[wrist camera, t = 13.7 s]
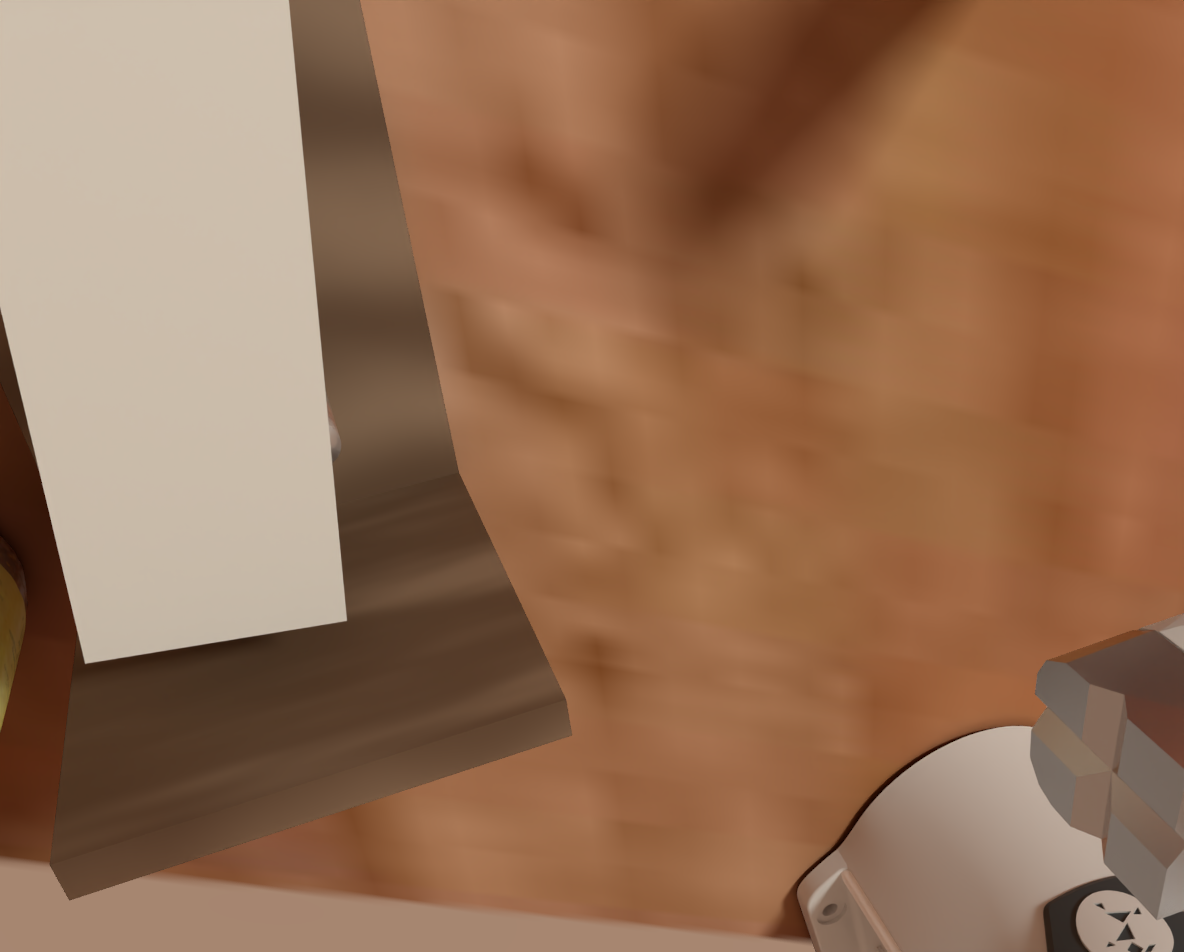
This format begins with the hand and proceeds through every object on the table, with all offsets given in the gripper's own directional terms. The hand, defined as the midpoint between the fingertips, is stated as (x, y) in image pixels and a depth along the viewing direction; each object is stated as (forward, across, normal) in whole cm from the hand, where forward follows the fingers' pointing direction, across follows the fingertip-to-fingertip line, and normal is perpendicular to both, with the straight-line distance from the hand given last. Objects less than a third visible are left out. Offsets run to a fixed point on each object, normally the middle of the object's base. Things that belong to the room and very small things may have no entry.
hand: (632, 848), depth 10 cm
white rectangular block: (+20, +4, -2) cm, 21 cm away
